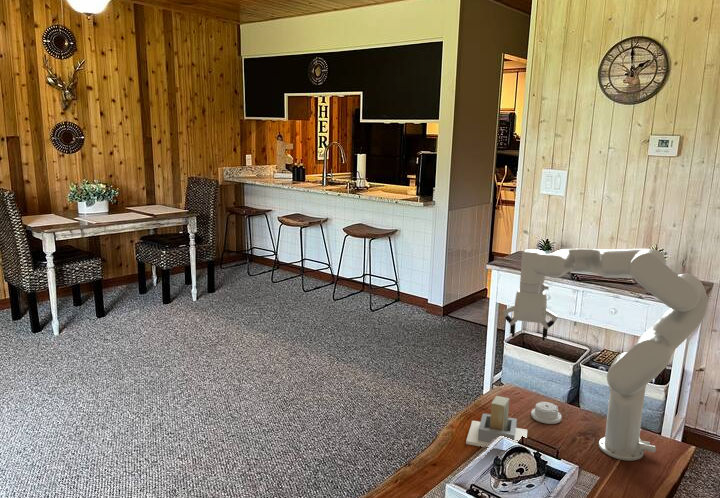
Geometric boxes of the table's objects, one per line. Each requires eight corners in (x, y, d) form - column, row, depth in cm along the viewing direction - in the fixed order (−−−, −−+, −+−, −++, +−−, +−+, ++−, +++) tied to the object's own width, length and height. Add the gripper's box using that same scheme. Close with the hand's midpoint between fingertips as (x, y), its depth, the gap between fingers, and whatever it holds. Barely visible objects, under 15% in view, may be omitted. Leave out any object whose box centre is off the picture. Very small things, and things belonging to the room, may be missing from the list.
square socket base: (527, 432, 184) (528, 418, 183) (525, 454, 171) (526, 439, 170) (472, 423, 189) (472, 409, 188) (465, 443, 176) (466, 429, 175)
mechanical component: (564, 425, 189) (556, 411, 199) (565, 413, 188) (557, 400, 198) (534, 424, 189) (528, 410, 199) (535, 412, 189) (529, 398, 198)
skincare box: (494, 429, 184) (496, 394, 181) (507, 432, 181) (509, 397, 179) (488, 438, 178) (490, 402, 176) (502, 441, 176) (504, 405, 174)
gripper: (559, 287, 182) (555, 337, 186) (505, 282, 188) (502, 330, 191) (559, 293, 175) (555, 344, 179) (503, 287, 181) (500, 338, 184)
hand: (528, 337), depth 185 cm, fingers open, 9 cm apart
